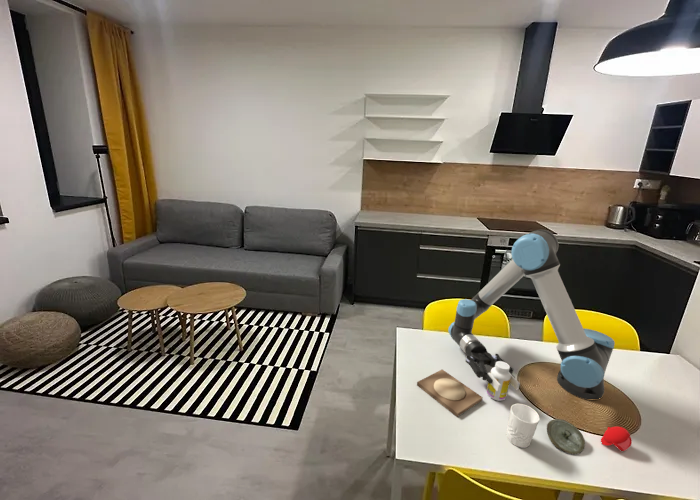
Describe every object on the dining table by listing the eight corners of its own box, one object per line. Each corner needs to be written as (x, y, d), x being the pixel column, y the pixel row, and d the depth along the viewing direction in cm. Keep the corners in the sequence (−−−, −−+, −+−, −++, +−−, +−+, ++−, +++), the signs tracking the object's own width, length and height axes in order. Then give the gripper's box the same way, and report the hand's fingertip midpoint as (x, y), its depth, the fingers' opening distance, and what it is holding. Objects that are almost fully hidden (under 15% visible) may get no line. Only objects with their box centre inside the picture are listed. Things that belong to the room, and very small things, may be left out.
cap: (622, 428, 111) (607, 417, 111) (639, 438, 105) (623, 426, 105) (608, 449, 111) (593, 438, 111) (624, 460, 105) (608, 448, 105)
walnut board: (481, 400, 123) (482, 396, 123) (457, 417, 115) (458, 412, 114) (441, 372, 137) (442, 368, 136) (416, 385, 128) (417, 381, 128)
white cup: (535, 452, 104) (543, 425, 101) (507, 446, 105) (514, 420, 102) (527, 431, 111) (535, 406, 108) (501, 426, 113) (508, 401, 109)
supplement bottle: (505, 392, 128) (513, 363, 124) (505, 404, 122) (513, 373, 118) (486, 386, 131) (493, 357, 127) (485, 397, 125) (492, 367, 121)
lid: (576, 432, 112) (580, 420, 111) (589, 459, 103) (594, 445, 101) (540, 425, 114) (544, 413, 113) (550, 450, 105) (554, 437, 103)
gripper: (493, 354, 144) (531, 394, 123) (449, 357, 140) (480, 398, 119) (496, 339, 142) (536, 376, 120) (452, 341, 138) (484, 380, 116)
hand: (508, 387), depth 119 cm, fingers closed on supplement bottle, 7 cm apart
